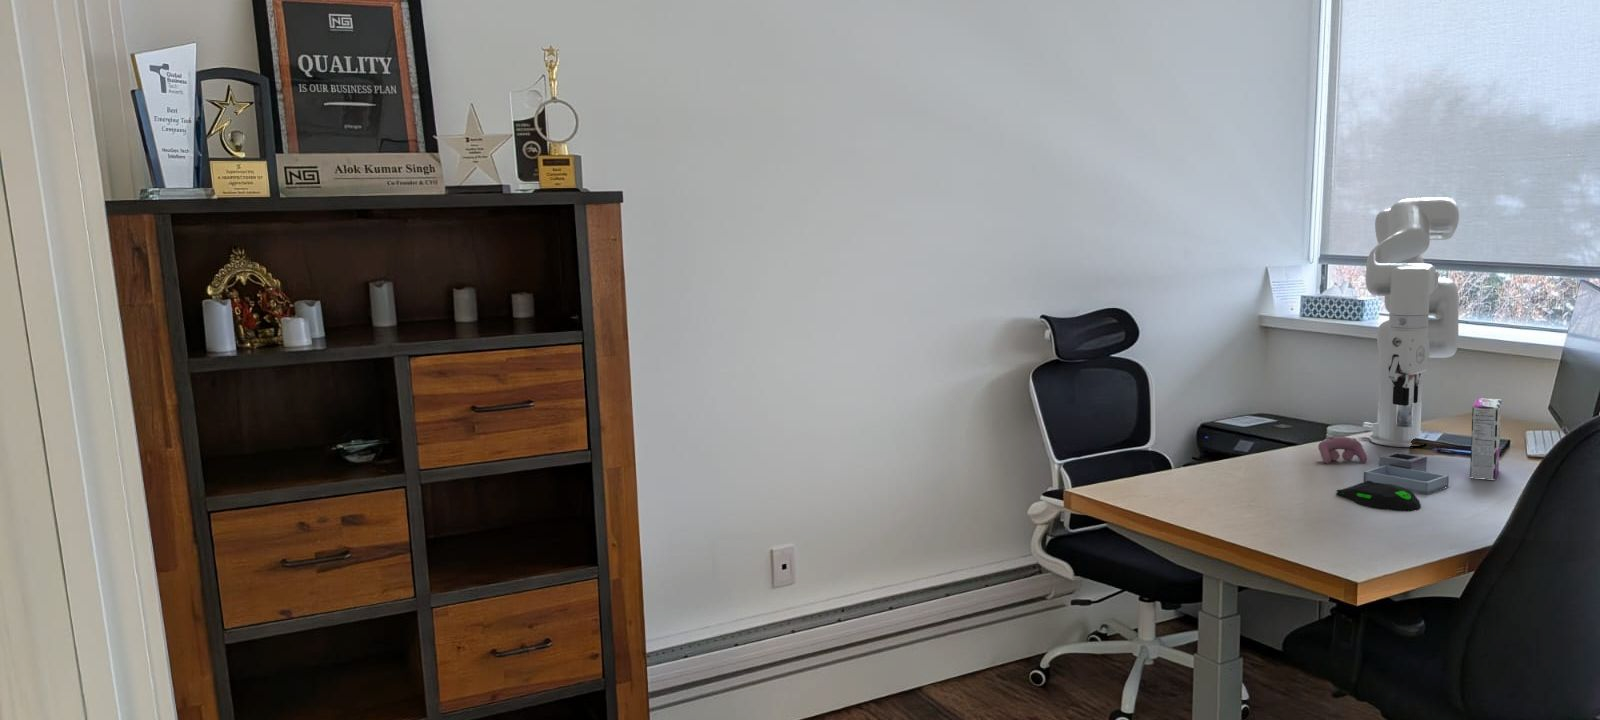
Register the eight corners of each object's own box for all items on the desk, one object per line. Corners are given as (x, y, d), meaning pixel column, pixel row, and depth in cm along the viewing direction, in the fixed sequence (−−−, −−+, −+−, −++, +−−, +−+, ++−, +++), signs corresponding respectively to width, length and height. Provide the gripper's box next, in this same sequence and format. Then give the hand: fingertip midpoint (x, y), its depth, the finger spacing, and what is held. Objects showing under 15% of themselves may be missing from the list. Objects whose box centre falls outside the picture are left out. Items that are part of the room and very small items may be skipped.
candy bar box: (1472, 468, 236) (1476, 397, 234) (1498, 470, 233) (1502, 399, 231) (1468, 478, 227) (1471, 405, 225) (1495, 481, 224) (1499, 407, 222)
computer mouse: (1388, 516, 203) (1389, 496, 203) (1324, 496, 219) (1324, 477, 218) (1433, 509, 206) (1434, 490, 206) (1367, 490, 222) (1367, 472, 221)
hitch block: (1378, 473, 234) (1378, 456, 233) (1393, 468, 237) (1394, 451, 237) (1410, 479, 228) (1411, 461, 227) (1426, 474, 232) (1426, 456, 231)
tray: (1363, 482, 226) (1363, 471, 226) (1384, 475, 232) (1385, 465, 231) (1427, 494, 216) (1427, 482, 215) (1448, 487, 221) (1448, 475, 220)
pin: (1388, 425, 232) (1390, 369, 230) (1398, 422, 235) (1401, 366, 233) (1409, 428, 229) (1412, 371, 227) (1419, 425, 231) (1422, 368, 229)
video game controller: (1361, 466, 247) (1356, 438, 249) (1369, 462, 242) (1364, 433, 245) (1318, 467, 248) (1314, 439, 250) (1326, 462, 243) (1321, 434, 246)
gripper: (1407, 327, 221) (1404, 411, 223) (1444, 319, 230) (1440, 400, 232) (1371, 324, 227) (1368, 406, 230) (1409, 317, 236) (1405, 396, 239)
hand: (1405, 402), depth 231 cm, fingers closed on pin, 3 cm apart
